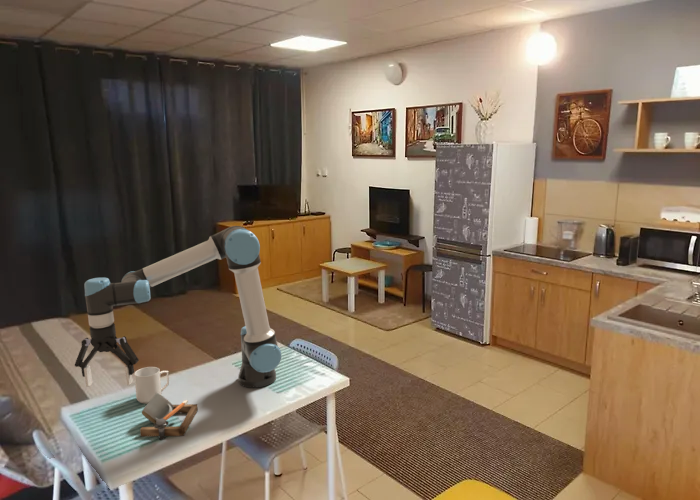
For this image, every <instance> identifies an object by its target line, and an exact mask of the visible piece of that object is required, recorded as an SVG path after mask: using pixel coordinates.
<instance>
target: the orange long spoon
mask: <svg viewBox="0 0 700 500" xmlns="http://www.w3.org/2000/svg"><path fill="white" fill-rule="evenodd" d="M186 404H189V400H188V399H184V400H183V401H182V402H181V403H180V404H178V405H179V406H178V407H176V408H175V409H174V410H173V411H171V412H170V413H169V414H168V415H166V416H165V417H164V418H163V419H159V420H157V421H156V425H157V426H162V425H165V424H166V421H168V420H169V419H170V418H171V417H172V416H174V415H175V414H177V413H176V412H177V411H178V410H179V409H181V408H182V407H183V406H184V405H186Z"/></svg>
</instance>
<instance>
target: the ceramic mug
mask: <svg viewBox="0 0 700 500" xmlns="http://www.w3.org/2000/svg"><path fill="white" fill-rule="evenodd" d="M173 405H174V404H172V403H171V402H170V401H169V399H167V398H166V397H165V396H164V395H162V394H161V395H160V394H159V393H156V394H155V396H154V397H153V398H152V399H151V400H150V402H149V403H146V405H145V406H144V407H143V409H142V411H141V415H143V416H144V418H146V419H147V420H148V421H150V422H151V423H152V424H153V425H154V424H155V423H156V421H157V420H159V419H163V418H164V417H165V416H166V415H168V414H169V413H170V412H171V411H172V409H173V408H174V406H173Z"/></svg>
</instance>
